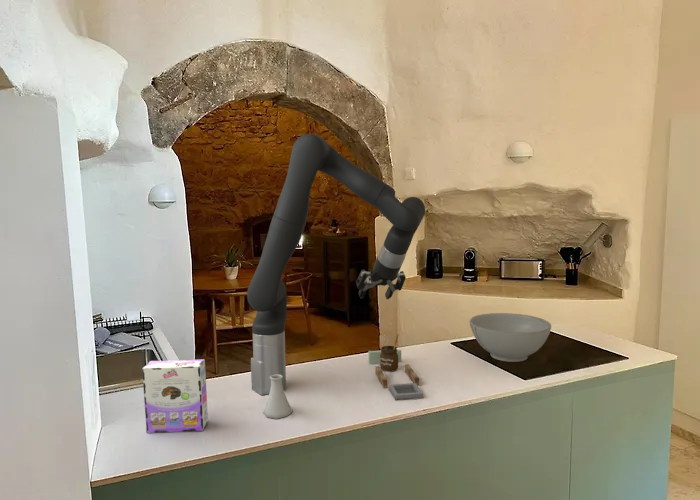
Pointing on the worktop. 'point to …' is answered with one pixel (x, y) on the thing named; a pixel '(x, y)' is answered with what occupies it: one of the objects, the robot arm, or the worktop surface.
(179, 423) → the candy box
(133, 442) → the worktop surface
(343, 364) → the worktop surface
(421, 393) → the grey flat square tray
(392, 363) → the brown jar with stick
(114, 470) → the worktop surface
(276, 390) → the flask
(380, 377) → the channel
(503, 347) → the decorative bowl
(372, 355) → the end stop
